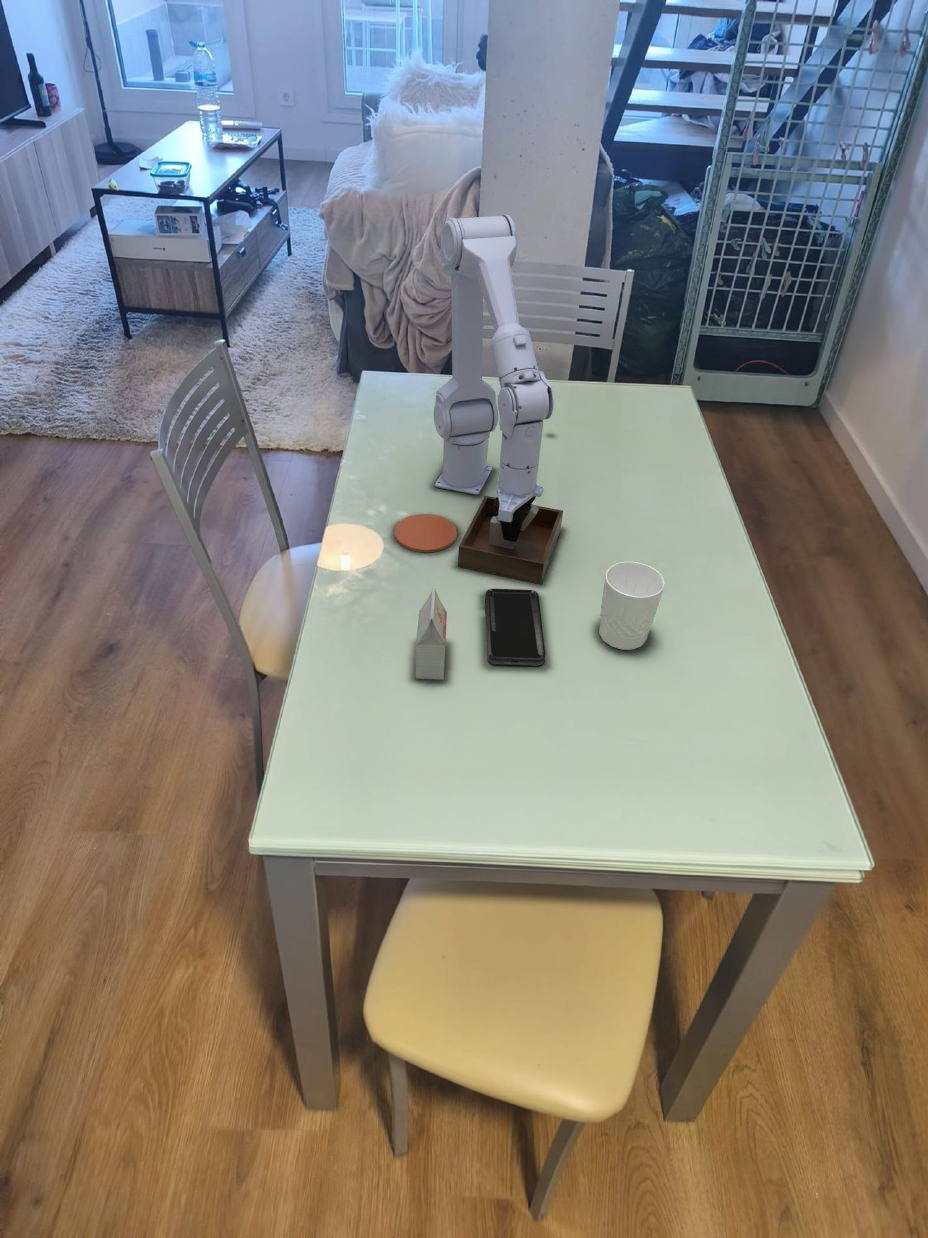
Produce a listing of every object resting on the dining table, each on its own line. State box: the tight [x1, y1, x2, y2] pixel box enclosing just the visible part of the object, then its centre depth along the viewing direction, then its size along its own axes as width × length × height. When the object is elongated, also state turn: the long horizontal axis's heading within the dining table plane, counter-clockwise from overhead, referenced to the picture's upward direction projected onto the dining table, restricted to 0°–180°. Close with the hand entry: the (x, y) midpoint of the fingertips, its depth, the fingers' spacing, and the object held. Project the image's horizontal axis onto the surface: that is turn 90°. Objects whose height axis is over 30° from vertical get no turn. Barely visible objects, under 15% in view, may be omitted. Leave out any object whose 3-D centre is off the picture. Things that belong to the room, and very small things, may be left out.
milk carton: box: [415, 588, 448, 681], centre depth 107 cm, size 4×7×10 cm, turn 179°
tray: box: [457, 495, 564, 585], centre depth 130 cm, size 15×13×4 cm
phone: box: [484, 588, 546, 667], centre depth 116 cm, size 8×1×15 cm
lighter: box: [489, 503, 539, 549], centre depth 128 cm, size 7×2×8 cm, turn 74°
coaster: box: [394, 513, 458, 553], centre depth 133 cm, size 10×10×1 cm
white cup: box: [598, 560, 666, 651], centre depth 113 cm, size 8×8×10 cm
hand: (512, 535), depth 129 cm, fingers closed on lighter, 2 cm apart
